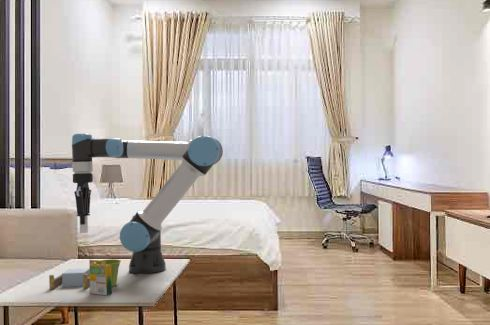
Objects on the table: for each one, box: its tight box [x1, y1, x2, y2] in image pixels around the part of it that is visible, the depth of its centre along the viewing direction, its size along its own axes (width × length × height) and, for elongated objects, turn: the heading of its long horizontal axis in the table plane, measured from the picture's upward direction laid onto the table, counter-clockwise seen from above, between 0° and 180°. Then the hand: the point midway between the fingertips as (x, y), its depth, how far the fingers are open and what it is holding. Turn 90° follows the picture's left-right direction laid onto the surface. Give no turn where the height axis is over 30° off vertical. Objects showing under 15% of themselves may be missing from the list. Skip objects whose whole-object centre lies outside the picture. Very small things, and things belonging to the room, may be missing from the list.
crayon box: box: [88, 259, 113, 296], centre depth 168 cm, size 7×3×12 cm, turn 65°
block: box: [61, 267, 90, 288], centre depth 185 cm, size 8×8×5 cm
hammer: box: [48, 274, 90, 291], centre depth 183 cm, size 14×14×5 cm
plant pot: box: [94, 258, 122, 287], centre depth 180 cm, size 9×9×9 cm
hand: (83, 232), depth 194 cm, fingers closed
